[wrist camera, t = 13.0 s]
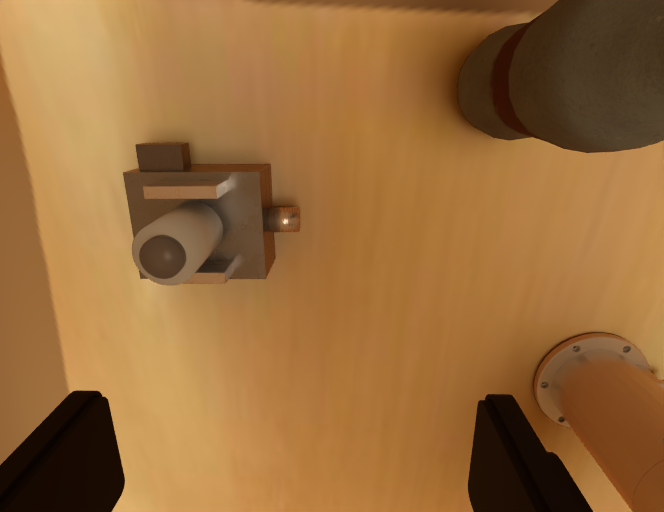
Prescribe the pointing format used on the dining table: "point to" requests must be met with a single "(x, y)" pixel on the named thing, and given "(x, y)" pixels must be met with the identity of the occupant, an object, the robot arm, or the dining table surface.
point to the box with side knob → (219, 194)
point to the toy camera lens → (177, 243)
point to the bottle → (572, 77)
